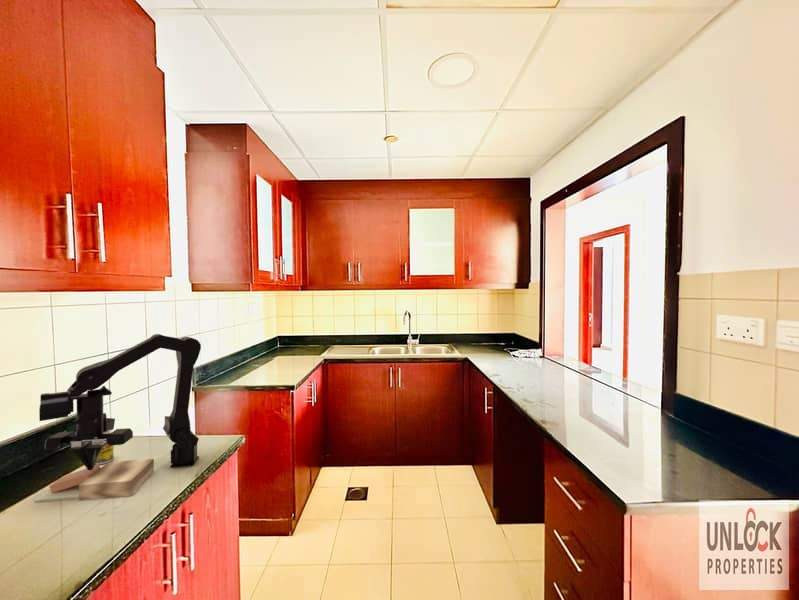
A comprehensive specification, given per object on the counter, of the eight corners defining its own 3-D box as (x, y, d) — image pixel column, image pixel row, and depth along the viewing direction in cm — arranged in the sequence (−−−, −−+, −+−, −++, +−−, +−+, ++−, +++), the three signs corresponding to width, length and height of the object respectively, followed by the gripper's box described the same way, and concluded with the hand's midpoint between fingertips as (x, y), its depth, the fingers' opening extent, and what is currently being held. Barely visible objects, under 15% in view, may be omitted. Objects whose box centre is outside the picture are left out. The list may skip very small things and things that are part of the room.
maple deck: (153, 472, 116) (153, 458, 116) (130, 495, 102) (130, 480, 102) (108, 475, 113) (108, 461, 113) (79, 500, 100) (79, 485, 100)
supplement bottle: (95, 467, 119) (94, 434, 119) (89, 462, 122) (88, 430, 122) (116, 460, 123) (116, 429, 123) (110, 456, 127) (109, 425, 127)
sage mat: (104, 477, 112) (104, 475, 112) (79, 498, 101) (79, 496, 101) (65, 480, 110) (65, 478, 110) (34, 502, 99) (34, 500, 99)
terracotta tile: (101, 470, 110) (99, 464, 110) (88, 481, 104) (86, 474, 104) (66, 482, 108) (64, 475, 108) (51, 493, 102) (49, 486, 102)
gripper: (141, 403, 116) (141, 454, 116) (70, 406, 112) (70, 459, 112) (122, 414, 105) (123, 471, 105) (42, 418, 101) (43, 477, 101)
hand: (90, 469), depth 106 cm, fingers closed
